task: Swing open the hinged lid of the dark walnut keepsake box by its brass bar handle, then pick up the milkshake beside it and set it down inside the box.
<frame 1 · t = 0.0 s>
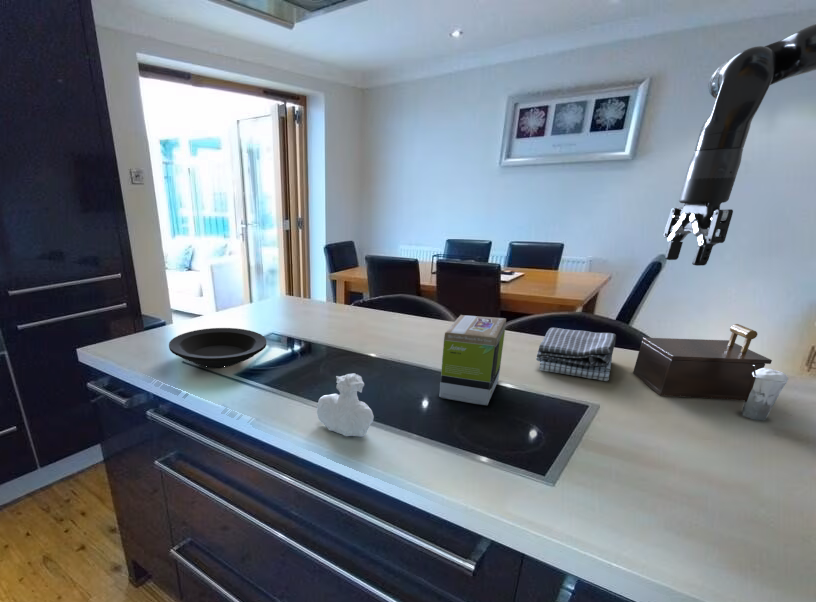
hand: (684, 262, 91), 25 cm above the worktop, tool pointing down, fingers open, 8 cm apart
towel: (572, 365, 107), on the worktop
tea box: (469, 390, 96), on the worktop
chest: (687, 386, 94), on the worktop
plate: (219, 362, 117), on the worktop
bust: (346, 428, 82), on the worktop
milkshake: (750, 417, 81), on the worktop
lid: (705, 339, 90), point 11 cm above the worktop, hinge at 0.0°
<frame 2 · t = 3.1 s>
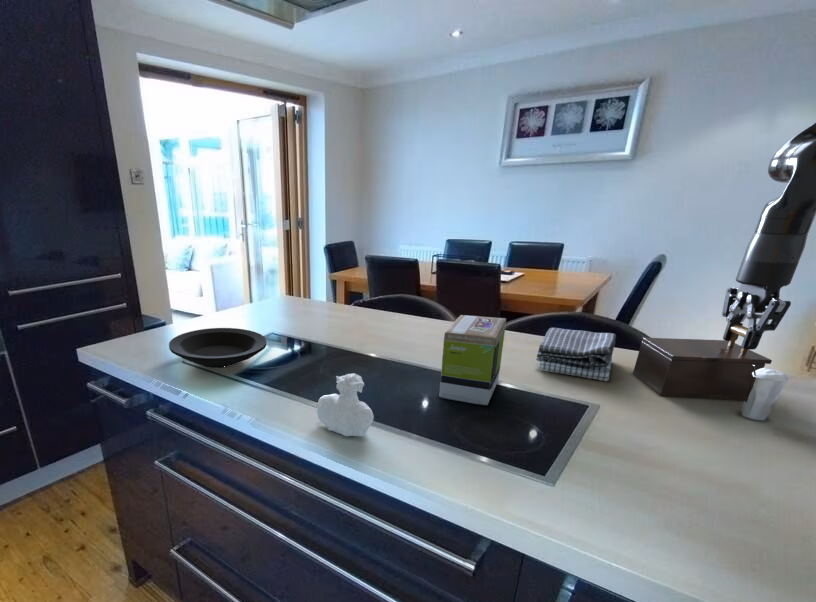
hand: (738, 344, 89), 10 cm above the worktop, tool pointing down, fingers closed on lid, 5 cm apart
lid: (705, 339, 90), point 11 cm above the worktop, hinge at 0.0°, touching gripper
everything else where it was.
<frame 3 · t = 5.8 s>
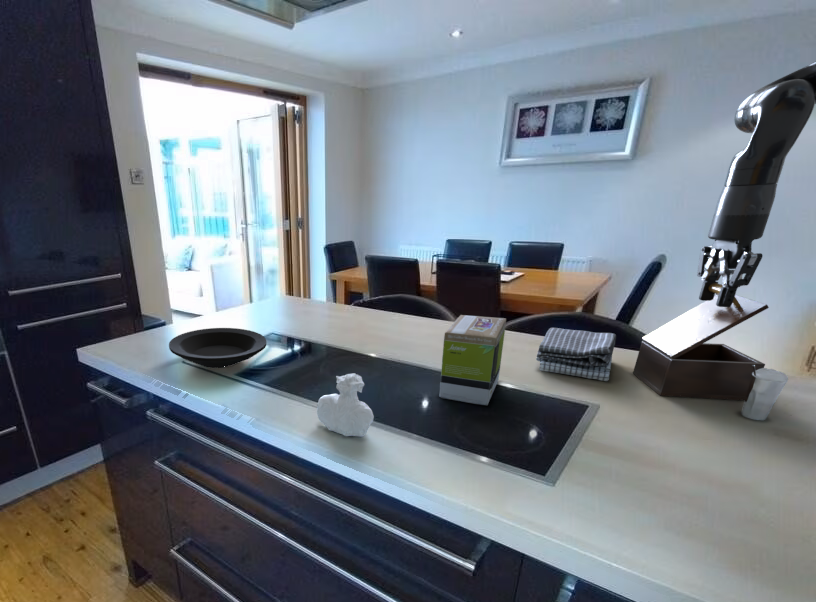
hand: (714, 302, 87), 18 cm above the worktop, tool pointing down, fingers closed on lid, 5 cm apart
lid: (693, 315, 89), point 15 cm above the worktop, hinge at 40.8°, touching gripper
everything else where it was.
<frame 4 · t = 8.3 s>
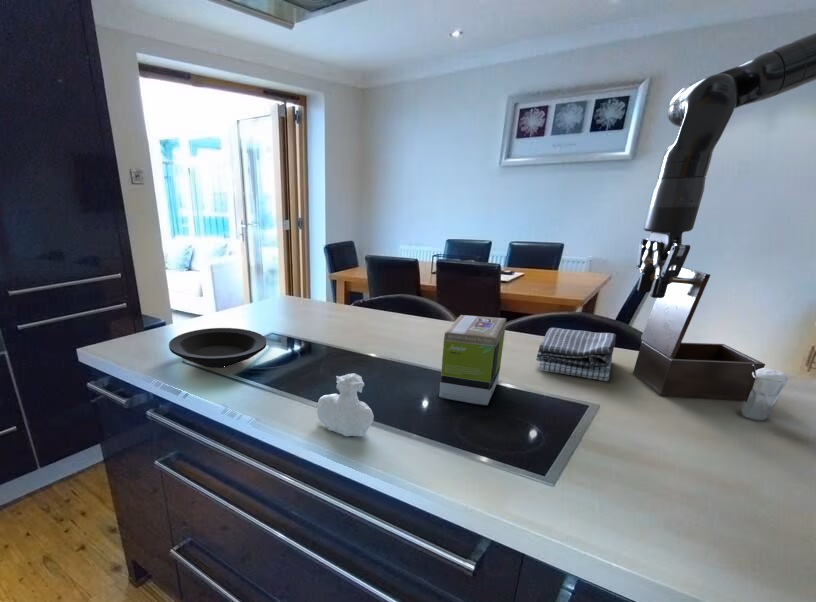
hand: (649, 294, 89), 20 cm above the worktop, tool pointing down, fingers closed on lid, 5 cm apart
lid: (659, 308, 90), point 17 cm above the worktop, hinge at 84.8°, touching gripper
everything else where it was.
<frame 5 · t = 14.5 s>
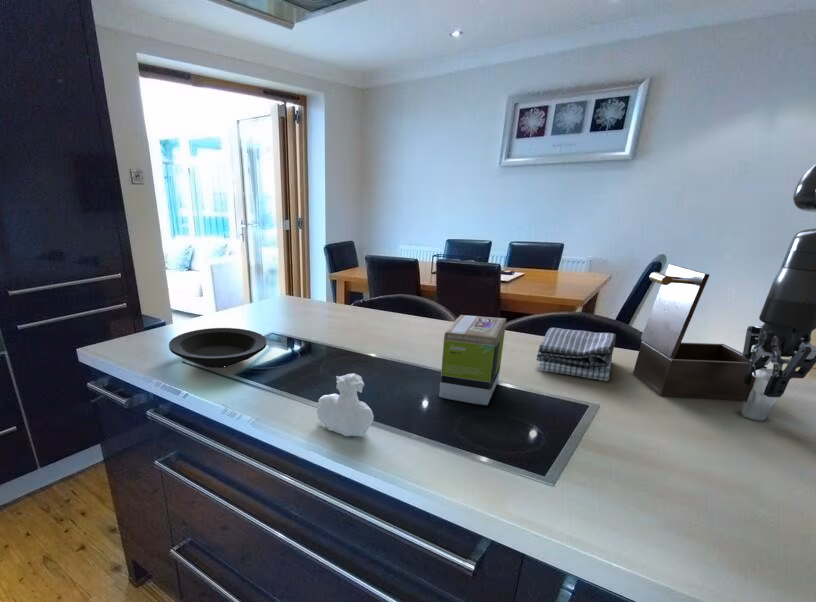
hand: (761, 390, 79), 5 cm above the worktop, tool pointing down, fingers closed on milkshake, 4 cm apart
milkshake: (749, 417, 81), on the worktop, touching gripper
lid: (659, 308, 90), point 17 cm above the worktop, hinge at 85.3°
everything else where it was.
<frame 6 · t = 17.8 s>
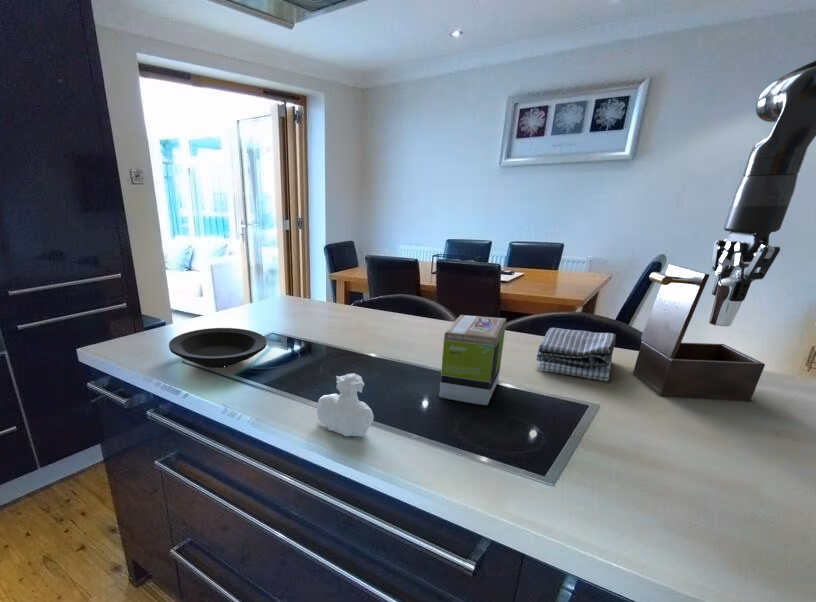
hand: (726, 297, 85), 19 cm above the worktop, tool pointing down, fingers closed on milkshake, 4 cm apart
milkshake: (717, 325, 88), point 14 cm above the worktop, touching gripper
everything else where it was.
when the fingers open (6 cm above the worktop, at t = 21.2 s): milkshake stays where it is, resting on chest.
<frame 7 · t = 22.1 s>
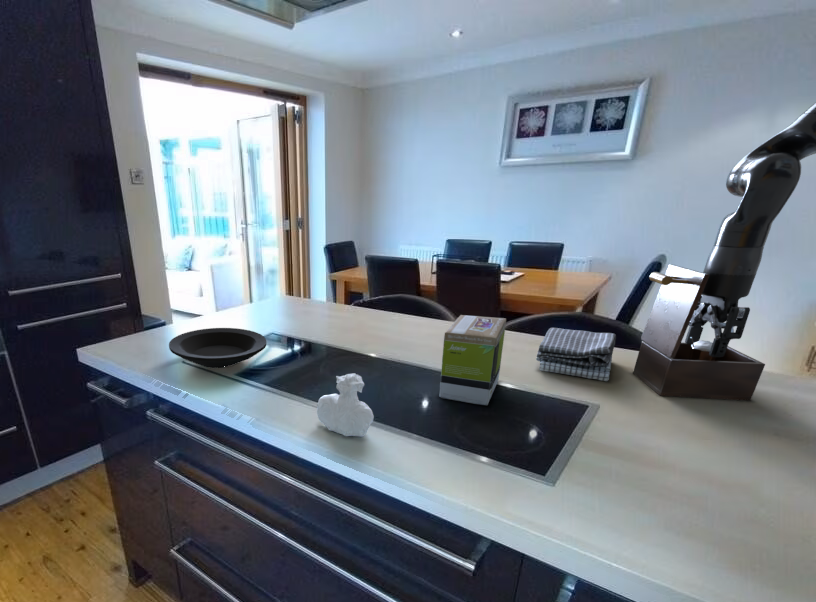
hand: (702, 349, 91), 8 cm above the worktop, tool pointing down, fingers open, 8 cm apart
milkshake: (690, 383, 94), point 1 cm above the worktop, touching chest
everything else where it was.
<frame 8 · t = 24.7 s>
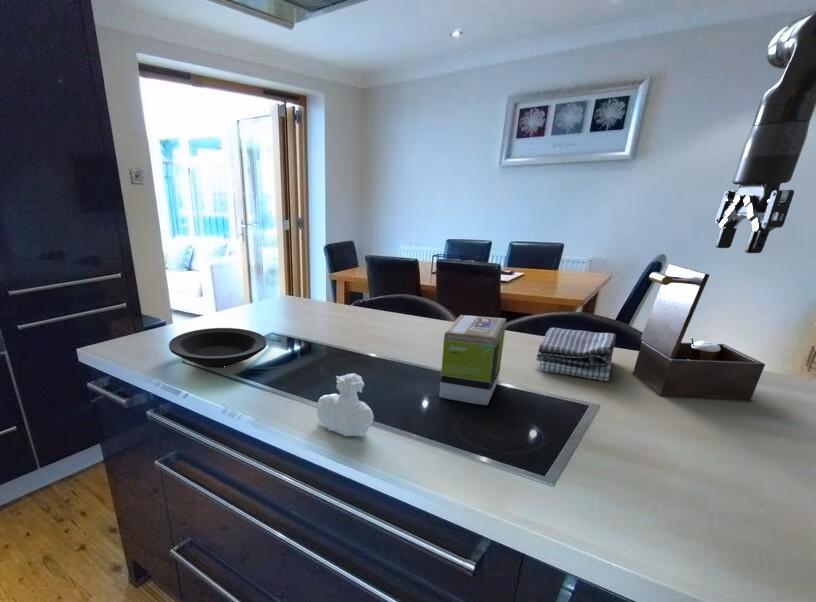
hand: (736, 250, 83), 28 cm above the worktop, tool pointing down, fingers open, 8 cm apart
nothing on the worktop moved.
at the end: lid at +85° (first picture: +0°); milkshake inside the target area in the chest (0.5 cm from its centre), point 0.6 cm above the chest's base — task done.
